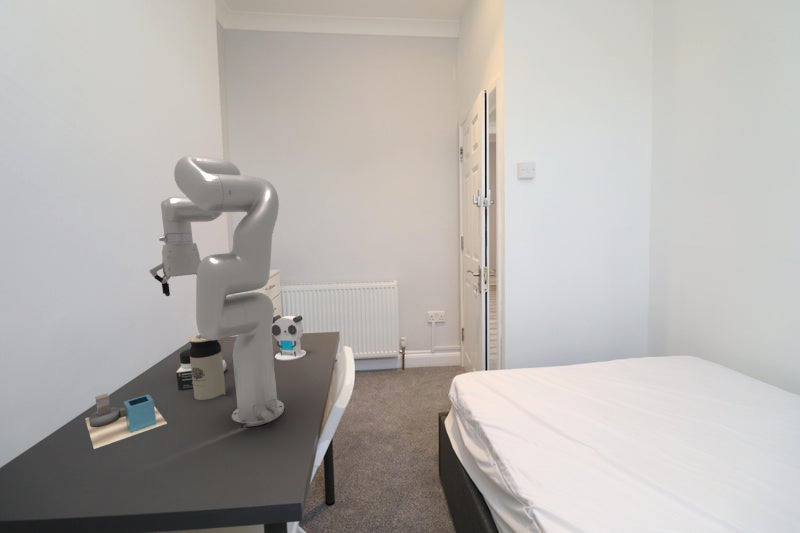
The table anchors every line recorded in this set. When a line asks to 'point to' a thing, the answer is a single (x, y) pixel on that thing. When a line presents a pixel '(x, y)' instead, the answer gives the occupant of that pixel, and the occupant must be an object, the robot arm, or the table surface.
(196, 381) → the travel mug
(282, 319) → the panda figurine
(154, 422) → the hollow square tube
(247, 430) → the table surface
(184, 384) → the medicine bottle
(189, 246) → the robot arm
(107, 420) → the door lever plate
